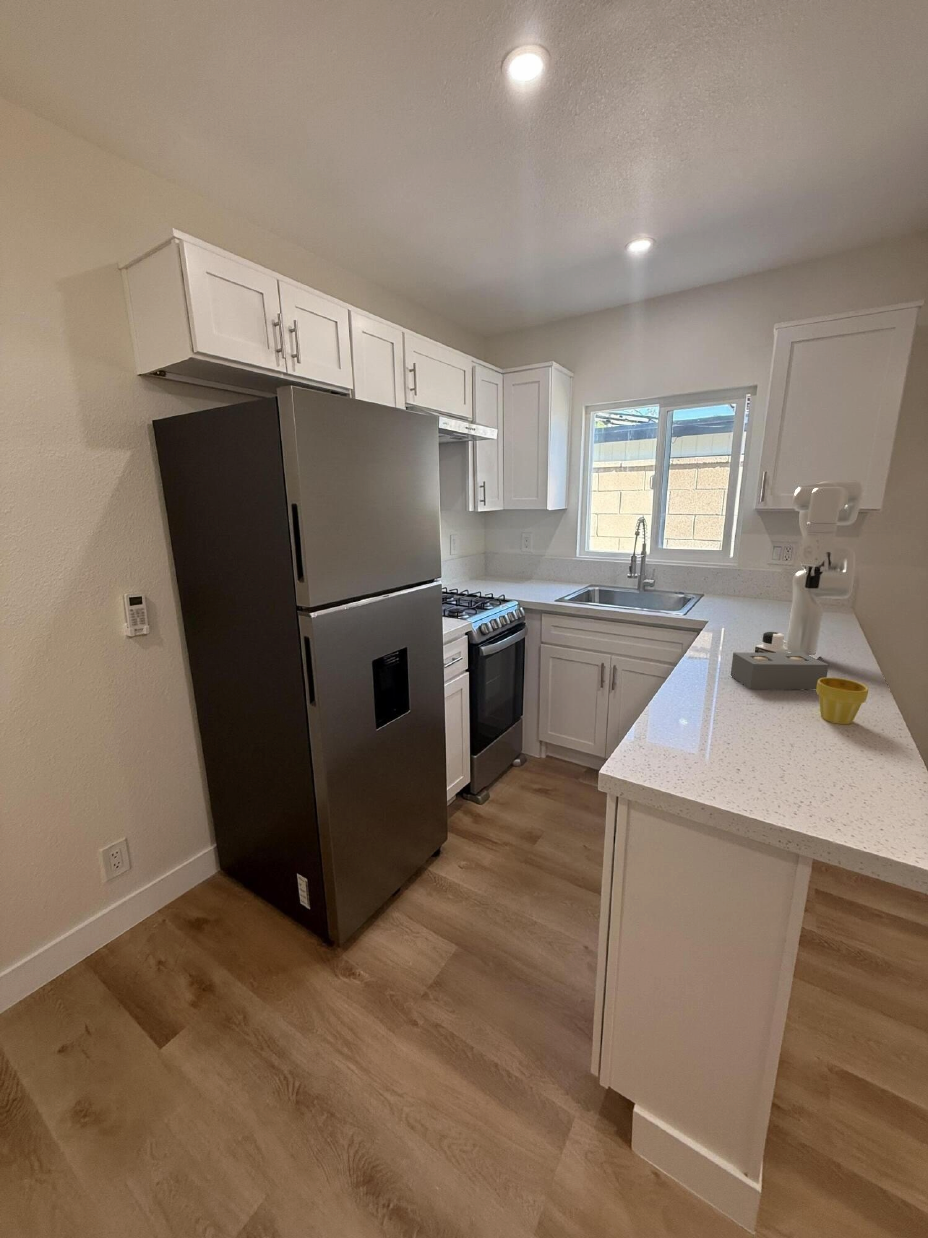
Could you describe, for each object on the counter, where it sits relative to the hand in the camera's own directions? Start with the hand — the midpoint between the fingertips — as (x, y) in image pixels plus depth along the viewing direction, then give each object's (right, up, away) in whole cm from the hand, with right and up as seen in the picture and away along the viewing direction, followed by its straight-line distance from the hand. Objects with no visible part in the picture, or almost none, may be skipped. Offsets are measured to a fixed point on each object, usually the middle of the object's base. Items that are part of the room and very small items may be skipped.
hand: (811, 587), depth 156 cm
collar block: (-12, -30, -1) cm, 32 cm away
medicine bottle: (-5, -26, +14) cm, 30 cm away
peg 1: (-17, -29, -1) cm, 34 cm away
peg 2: (-6, -29, -1) cm, 30 cm away
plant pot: (-13, -36, -27) cm, 47 cm away
